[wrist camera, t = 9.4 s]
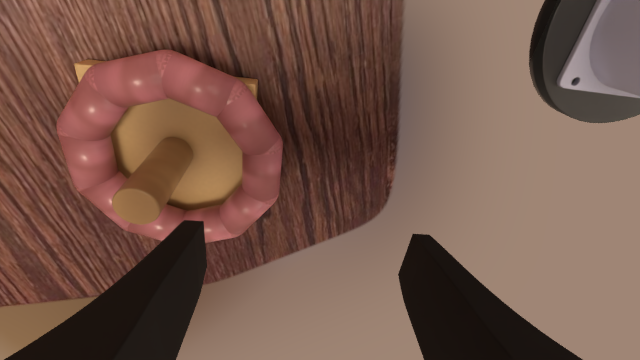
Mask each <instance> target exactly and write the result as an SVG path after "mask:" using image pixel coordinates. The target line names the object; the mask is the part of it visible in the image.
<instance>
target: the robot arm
mask: <svg viewBox="0 0 640 360" xmlns="http://www.w3.org/2000/svg"><path fill="white" fill-rule="evenodd" d="M574 78H575V81H574V82H573V83H572V80H573V79H574ZM571 83H572V84H571ZM557 85H558V86H559V87H562V88H565V89H573V90H581V91H588V92H596V93H604V94H611V95H619V96H627V97H635V98H640V0H597V1H596V3H595V5H594V7H593V9H592V11H591V13H590V15H589V17H588V19H587V21H586V23H585V25H584V27H583V29H582V31H581V33H580V35H579V37H578V39H577V41H576V43H575V45H574V47H573V49H572V51H571V53H570V55H569V57H568V58H567V60H566V62H565V64H564V66H563V68H562V70H561V72H560V74H559V76H558V78H557ZM206 268H207V260H206V247H205V233H204V221H193V220H184V221H182V222H181V223H180V224H179V225H178V226H177V227H176V228H175V229H174V230H173V231H172V232H171V233H170V234H169V235H168V236H167V237H166V238H165V239H164V240H163V241H162V242H161V243H160V244H159V245H158V246H157V247H156V248H155V249H154V250H152V251H151V252H150V253H149V254H148V255H147V256H146V257H145V258H144V259H143V260H142V261H140V262H139V263H138V264H137V265H136V266H135V267H134V268H133V269H131V270H130V271H129V272H128V273H127V274H126V275H124V276H123V277H122V278H121V279H120V280H118V281H117V282H116V283H115V284H114V285H112V286H111V287H110V288H109V289H108V290H106V291H105V292H104V293H102V294H101V295H100V296H99V297H97V298H96V299H95V300H93V301H92V302H91V303H90V304H88V305H87V306H85V307H84V308H83V309H81V310H80V311H79V312H77V313H76V314H74V315H73V316H72V317H70V318H69V319H67V320H66V321H64V322H63V323H61V324H60V325H58V326H57V327H55V328H54V329H52V330H51V331H49V332H47V333H46V334H44V335H43V336H41V337H40V338H38V339H37V340H35V341H34V342H32V343H30V344H29V345H28V346H26V347H24V348H23V349H21V350H19V351H18V352H16V353H14V354H13V355H11V356H10V357H8V358H6V359H4V360H176V357H177V355H178V352H179V350H180V347H181V344H182V342H183V339H184V336H185V333H186V331H187V328H188V326H189V323H190V320H191V317H192V315H193V312H194V310H195V307H196V304H197V301H198V299H199V296H200V292H201V288H202V284H203V280H204V276H205V272H206ZM398 275H399V281H400V286H401V290H402V295H403V299H404V303H405V306H406V309H407V312H408V315H409V318H410V321H411V324H412V326H413V329H414V332H415V335H416V338H417V341H418V343H419V346H420V349H421V352H422V355H423V358H424V360H582V359H581V358H579V357H578V356H576V355H575V354H573V353H572V352H570V351H569V350H567V349H566V348H564V347H563V346H561V345H560V344H558V343H557V342H555V341H554V340H552V339H551V338H549V337H548V336H547V335H545V334H544V333H542V332H541V331H540V330H538V329H537V328H536V327H534V326H533V325H532V324H530V323H529V322H528V321H526V320H525V319H524V318H522V317H521V316H520V315H518V314H517V313H516V312H515V311H513V310H512V309H511V308H510V307H508V306H507V305H506V304H504V302H502V301H501V300H500V299H499V298H498V297H496V296H495V295H494V294H493V293H492V292H491V291H489V290H488V289H487V288H486V287H485V286H484V285H482V283H480V282H479V281H478V280H477V279H476V278H475V277H474V276H473V275H472V274H470V273H469V272H468V271H467V270H466V269H465V268H464V267H463V266H462V265H461V264H460V263H459V262H458V261H457V260H456V259H455V258H453V256H452V255H450V254H449V253H448V252H447V251H446V250H445V249H444V248H443V247H442V246H441V245H440V244H439V243H438V242H437V241H436V240H434V239H433V238H432V237H431V236H430V235H422V234H413V235H412V238H411V241H410V244H409V246H408V249H407V252H406V255H405V257H404V260H403V263H402V266H401V269H400V271H399V274H398Z"/></svg>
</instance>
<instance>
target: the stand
mask: <svg viewBox="0 0 640 360" xmlns="http://www.w3.org/2000/svg"><path fill="white" fill-rule="evenodd" d="M101 62H106V61H98V60H90V59H86V60H84V61H81V62H78V63H75V64H74V66H75V70H76V74H77V78H78V82H80V81H81V79H82V77H83V75H84V74H85V72H86V71H87V70H88V68H90V67H91V66H93V65H94V64H97V63H101ZM233 77H234V76H233ZM235 78H237V79H239V80H241V81H242V82H244V83H245V84H246V85H247V87H248V88H249V89H250V91H251V92H252V94H253V95H254V97H255V99H256V100H257V95H258V80H257V79H251V78H242V77H235ZM111 139H112V144H113V148H114V153H115V157H116V162H117V167H118V170H119V171H120V172H121V173H122V174H123V175H124V176H125V177H126V178H127V180H126V182H125V183H124V184H123V185H122V186H121V187H120V188H119V189H118V191H117V192H116V193H115V194H114V196H113V198H112V206H113V209H114V211H115V212H116V213H117V215H118V216H119V217H121V218H122V219H124V220H125V221H127V222H130V223H133V224H139V225H143V224H149V223H151V222H153V221H155V220H156V219H157V218H158V217H159V215H160V213H161V212H162V210H163V208H164V207H165V205H166V204H167V205H170V206H174V207H177V208H180V209H183V210H187V211H190V210H195V209H200V208H206V207H211V206H216V205H221V204H223V203H224V202H225V201H226V200H227V199H228V198H229V197H230V196H231V195H232V194H233V192H234V191H235V190H236V189H237V188H238V187H239V186H240V185H241V184H242V150H241V149H240V148H239V146H238V145H237V144H236V142H235V141H234V140H233V139H232V137H231V136H230V135H229V133H228V132H227V131H226V129H225V128H224V127H223V125H222V124H221V123H220V121H219V120H218V119H217V117H215V116H212V115H210V114H207V113H205V112H202V111H200V110H197V109H195V108H192V107H190V106H187V105H185V104H182V103H180V102H177V101H175V100H172V99H165V100H160V101H155V102H150V103H145V104H140V105H135V106H130V107H128V109H127V110H126V112H125V113H124V115H123V116H122V118H121V119H120V121H119V122H118V124H117V125H116V127H115V128H114V130H113V131H112V133H111Z"/></svg>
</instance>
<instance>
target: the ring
mask: <svg viewBox="0 0 640 360" xmlns="http://www.w3.org/2000/svg"><path fill="white" fill-rule="evenodd" d="M165 99H172V100H175V101H177V102H180V103H182V104H185V105H187V106H190V107H192V108H195V109H197V110H200V111H202V112H205V113H207V114H210V115H212V116H215V117H217V119H218V120H219V121H220V123H221V124H222V125H223V127H224V128H225V129H226V131H227V132H228V133H229V135H230V136H231V137H232V139H233V140H234V141H235V142H236V144H237V145H238V146H239V148H240V149H241V150H242V184H241V185H240V186H239V187H238V188H237V189H236V190H235V191H234V192H233V194H232V195H231V196H230V197H229V198H228V199H227V200H226V201H225V202H224V203H223V204H221V205H216V206H211V207H206V208H200V209H195V210H190V211H187V210H183V209H180V208H177V207H174V206H170V205H167V204H166V205H165V207H164V208H163V210H162V212H161V213H160V215H159V217H158V218H157V219H156V220H155V221H153V222H151V223H149V224H143V225H139V224H133V223H130V222H127V221H125V220H124V219H122V218H121V217H119V216H118V215H117V213H116V212H115V211H114V209H113V206H112V198H113V196H114V194H115V193H116V192H117V191H118V189H119V188H120V187H121V186H122V185H123V184H124V183H125V182H126V180H127V178H126V177H125V176H124V175H123V174H122V173H121V172H120V171H119V170H118V167H117V162H116V157H115V153H114V148H113V144H112V139H111V133H112V131H113V130H114V128H115V127H116V125H117V124H118V122H119V121H120V119H121V118H122V116H123V115H124V113H125V112H126V110H127V109H128V107H130V106H135V105H140V104H145V103H150V102H155V101H160V100H165ZM56 128H57V133H58V136H59V139H60V143H61V146H62V149H63V152H64V156H65V159H66V162H67V165H68V169H69V172H70V175H71V178H72V182H73V184H74V186H75V188H76V189H77V190H78V191H79V192H80V193H81V194H82V195H83V196H85V197H86V198H87V199H88V200H89V201H90V202H92V203H93V204H94V205H95V206H96V207H97V208H99V209H100V210H101V211H102V212H103V213H104V214H106V215H107V216H108V217H109V218H110V219H111V220H113V221H114V222H115V223H116V224H117V225H118V226H120V227H121V228H122V229H124V230H126V231H128V232H132V233H136V234H139V235H143V236H146V237H150V238H153V239H157V240H161V241H163V240H164V239H165V238H166V237H167V236H168V235H169V234H170V233H171V232H172V231H173V230H174V229H175V228H176V227H177V226H178V225H179V224H180V223H181V222H182V221H184V220H193V221H204V233H205V243H207V242H213V241H218V240H224V239H229V238H234V237H238V236H240V235H241V234H242V233H244V232H245V231H246V230H247V229H248V228H249V227H250V226H251V225H252V224H253V223H254V222H255V221H256V220H257V219H258V218H259V217H260V216H261V215H262V214H263V213H264V212H266V211H267V210H268V209H269V208H270V207H271V206H272V205H273V204H274V203H275V201H276V200H277V198H278V195H279V189H280V177H281V164H282V152H283V142H282V138H281V136H280V135H279V133H278V132H277V130H276V129H275V127H274V126H273V124H272V123H271V121H270V120H269V118H268V117H267V115H266V114H265V112H264V111H263V109H262V108H261V106H260V105H259V103H258V102H257V100H256V99H255V97H254V95H253V94H252V92H251V91H250V89H249V88H248V87H247V85H246V84H245V83H244V82H242V81H241V80H239V79H237V78H235V77H233V76H231V75H228V74H226V73H224V72H222V71H219V70H217V69H215V68H212V67H210V66H208V65H206V64H203V63H201V62H199V61H197V60H194V59H192V58H190V57H187V56H185V55H183V54H181V53H178V52H176V51H173V50H167V49H165V50H158V51H153V52H148V53H144V54H139V55H134V56H129V57H125V58H120V59H115V60H110V61H106V62H101V63H97V64H94V65H93V66H91V67H90V68H88V70H87V71H86V72H85V74H84V75H83V77H82V79H81V81H80V82H79V84H78V86H77V87H76V89H75V91H74V93H73V94H72V96H71V98H70V99H69V101H68V103H67V105H66V106H65V108H64V110H63V111H62V113H61V115H60V117H59V118H58V121H57V127H56Z"/></svg>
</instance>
